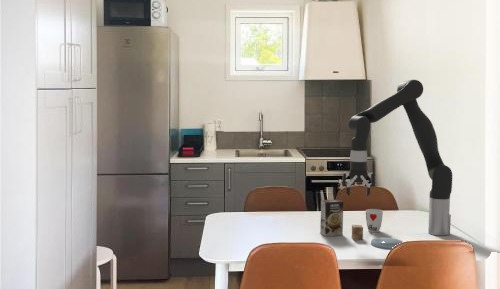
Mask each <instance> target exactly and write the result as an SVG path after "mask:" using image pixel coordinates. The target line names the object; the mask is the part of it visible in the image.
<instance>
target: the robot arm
mask: <svg viewBox="0 0 500 289" xmlns="http://www.w3.org/2000/svg"><path fill="white" fill-rule="evenodd" d="M423 93H424V86H423V84H422V82H421V81H420V80H418V79H410V80H405V81H402V82H400V83H399V84H398V85H397V89H396V93H394V94H392V95H390V96H388V97H386V98H384V99H382V100H380V101H378V102H377V103H375V104H373V105H372V106H370V107H369V108H368V109H366V110H363V111H361V112H359V113H357V114H355V115H353V116H351V117H350V119H349V120H348V128H349V130H351V131H353V132H355V136H354V137H352V138H351V141H350V154H349V155H350V156H349V172H345V171H344V172H342V178H341V179H342V182H341V184H342V186H343V187H345V193H346V195H347V196H349V197H350V192H351V191H350V187H351V185H352V184H353V183H356V184H357V183H361V184H362V183H364V184H365V186H366V189H365V190H366V192H365V193H366V194H365V195H366V197H367V196H368V197H369V195H371V187H374V186H375V174H374V172H369V173H368V151H367V150H368V147H367V146H368V138H369V135H370V130H371V124H373V123H376V122H378V121H380V120H381V119H383V118H384V117H386V116H388V115H389V114H391V113H392V112H393V111H395V110H397V109H398V108H400V107H401V106H403V109H404V110H405V113H406V115H407V118H408V121H409V123H410V126H411V127H412V128H411V129H412V132H413V134H414V136H415V140H416V143H417V144H418V147H419V149H420V151H421V153H422V155H423V158H424V162H425V166H426V169H427V173H428V176H429V179H431V189H430V191H429V200H428V201H429V202H428V203H429V205H428V227H427V228H428V230H427V231H428V234H430V235H433V236H447V235H448V236H450V235H451V222H452V220H451V216H452V215H451V214H450V207H451V206H450V205H451V193H452V191H453V190H452V189H453V172H452V169H451V168H450V167H449V166H447V165H446V164H445V163H444V161H443V158H442V157H441V155H440V151H439V146H438V145H439V143H438V138H437V133H436V131H435V128H434V124H433V123H432V121H431V119H429V117H428V115H426V114H425V112H424V111H422V109H421V107H420V106H419V104H418V101H417V99H418V98H420V97H421V96H422V95H423ZM348 177H350V179H349V180H348V182H347V183H346V181H347V178H348ZM367 178H369V179H370V183H369V182H368V181H367Z"/></svg>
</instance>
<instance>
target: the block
mask: <svg viewBox="0 0 500 289" xmlns="http://www.w3.org/2000/svg"><path fill="white" fill-rule="evenodd" d="M351 239H352V241H364V227H363V225H362V224H352V225H351Z"/></svg>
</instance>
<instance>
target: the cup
mask: <svg viewBox="0 0 500 289" xmlns="http://www.w3.org/2000/svg"><path fill="white" fill-rule="evenodd" d="M383 212H384V211H383V210H382V209H378V208H370V209H369V208H368V209H365V220H366V221H365V222H366V226H367V230H368V232H369V233H379V232H380V230H381V228H382V222H383Z"/></svg>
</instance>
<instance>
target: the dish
mask: <svg viewBox="0 0 500 289" xmlns="http://www.w3.org/2000/svg"><path fill="white" fill-rule="evenodd" d="M402 242H404V241H403V240H401V239H398V238H392V237H375V238H372V239H371V241H370V245H371V246H373V247H375V248H379V249H385V250H392V249H391V248H392V247H394V246H395V245H397V244H399V243H402Z"/></svg>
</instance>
